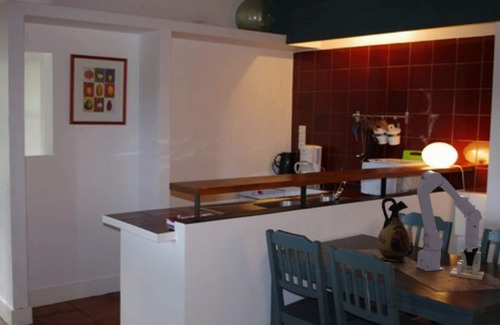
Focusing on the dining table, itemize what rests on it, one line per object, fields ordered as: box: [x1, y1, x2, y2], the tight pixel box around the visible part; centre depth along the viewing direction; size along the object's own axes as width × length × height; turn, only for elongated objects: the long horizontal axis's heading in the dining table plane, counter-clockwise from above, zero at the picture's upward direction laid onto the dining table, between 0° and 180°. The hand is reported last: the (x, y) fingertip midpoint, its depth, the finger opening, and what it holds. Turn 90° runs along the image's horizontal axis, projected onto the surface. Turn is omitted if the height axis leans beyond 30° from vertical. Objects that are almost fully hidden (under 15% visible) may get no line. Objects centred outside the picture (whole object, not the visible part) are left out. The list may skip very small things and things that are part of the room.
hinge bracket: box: [449, 259, 485, 281], centre depth 253 cm, size 10×13×5 cm
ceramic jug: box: [376, 196, 411, 263], centre depth 277 cm, size 17×15×30 cm
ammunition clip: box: [407, 228, 414, 253], centre depth 292 cm, size 11×2×12 cm, turn 101°
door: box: [460, 249, 482, 271], centre depth 264 cm, size 3×8×8 cm, turn 63°
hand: (470, 264), depth 264 cm, fingers open, 5 cm apart
